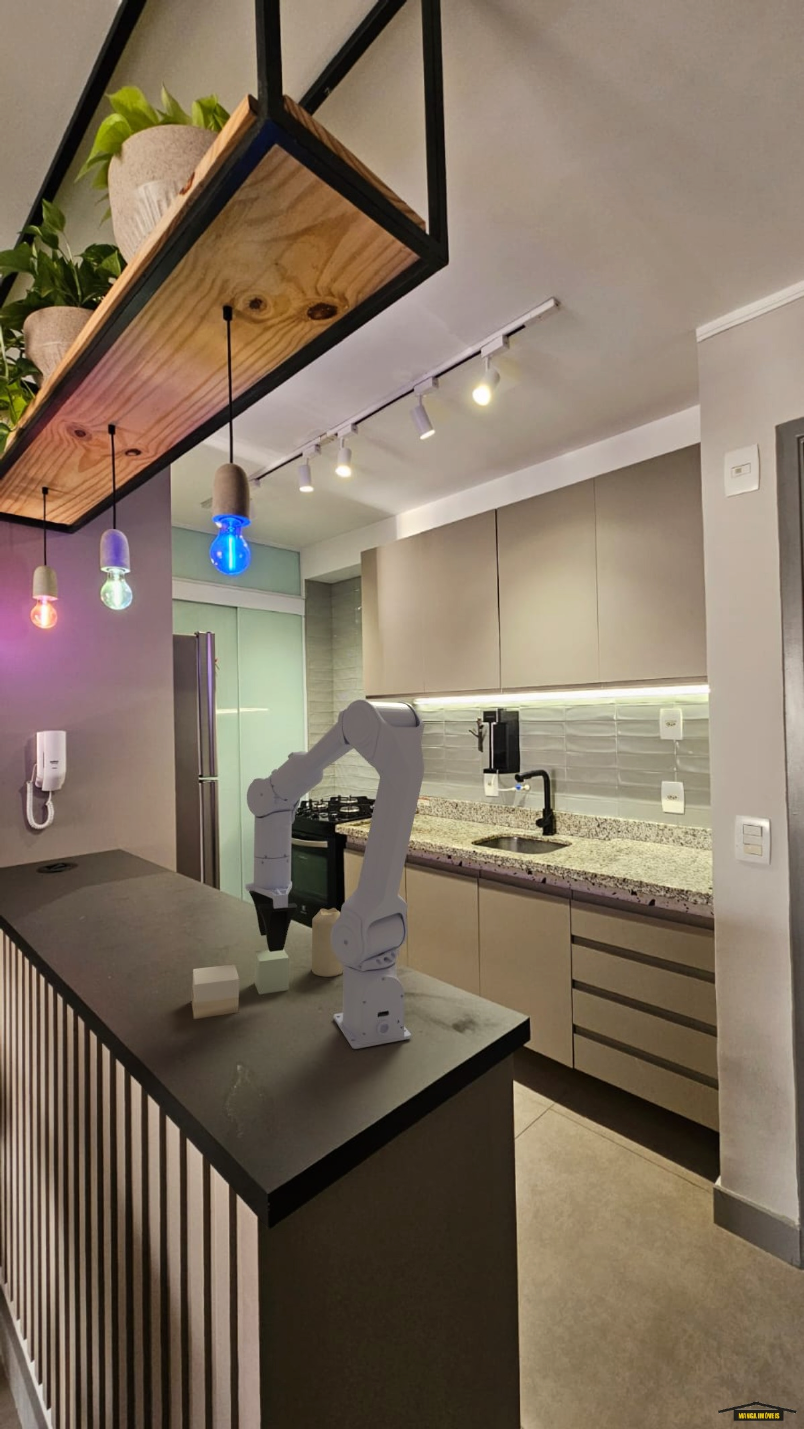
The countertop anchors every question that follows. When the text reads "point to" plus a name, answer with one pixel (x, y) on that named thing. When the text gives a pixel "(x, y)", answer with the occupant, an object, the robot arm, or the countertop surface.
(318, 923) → the candle
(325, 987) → the countertop surface
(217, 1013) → the tower base
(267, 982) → the sage block
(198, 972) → the tower top
